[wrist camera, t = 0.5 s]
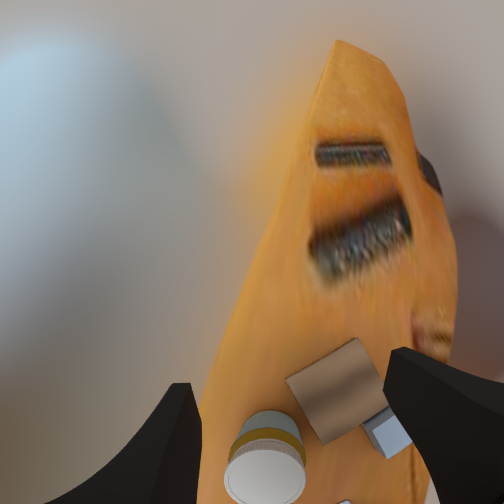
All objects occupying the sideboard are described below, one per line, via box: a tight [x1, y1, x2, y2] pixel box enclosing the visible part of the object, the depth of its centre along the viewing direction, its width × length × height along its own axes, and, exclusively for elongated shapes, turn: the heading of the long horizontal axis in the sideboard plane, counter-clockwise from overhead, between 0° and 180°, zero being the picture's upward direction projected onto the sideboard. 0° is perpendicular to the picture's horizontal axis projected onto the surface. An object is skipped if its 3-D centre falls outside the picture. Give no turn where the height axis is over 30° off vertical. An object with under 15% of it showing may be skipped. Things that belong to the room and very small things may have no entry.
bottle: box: [224, 410, 306, 504], centre depth 22 cm, size 7×7×15 cm
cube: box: [361, 405, 412, 459], centre depth 25 cm, size 5×5×5 cm
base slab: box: [285, 337, 389, 446], centre depth 29 cm, size 10×10×2 cm
